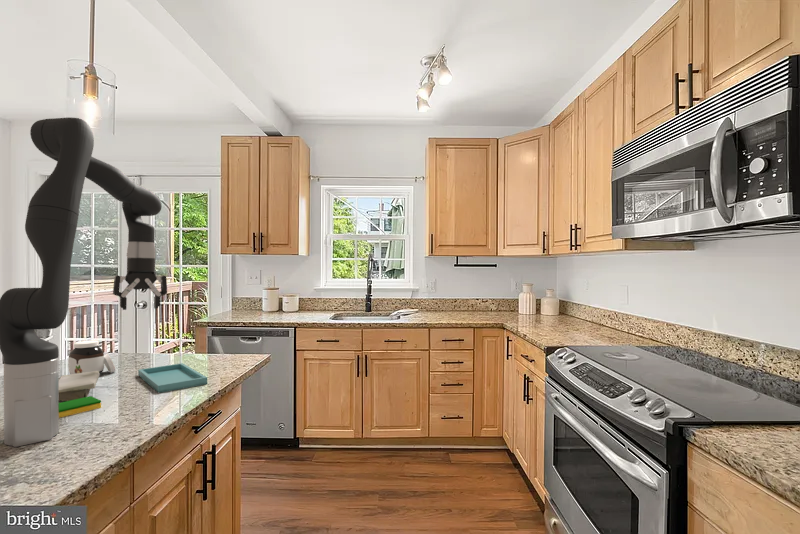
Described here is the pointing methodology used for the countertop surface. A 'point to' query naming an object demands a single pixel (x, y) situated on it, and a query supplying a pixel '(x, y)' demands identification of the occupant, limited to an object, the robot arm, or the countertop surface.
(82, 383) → the packaged product
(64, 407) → the dish sponge
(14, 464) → the countertop surface
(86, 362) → the spread jar
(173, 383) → the tray
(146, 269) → the robot arm
